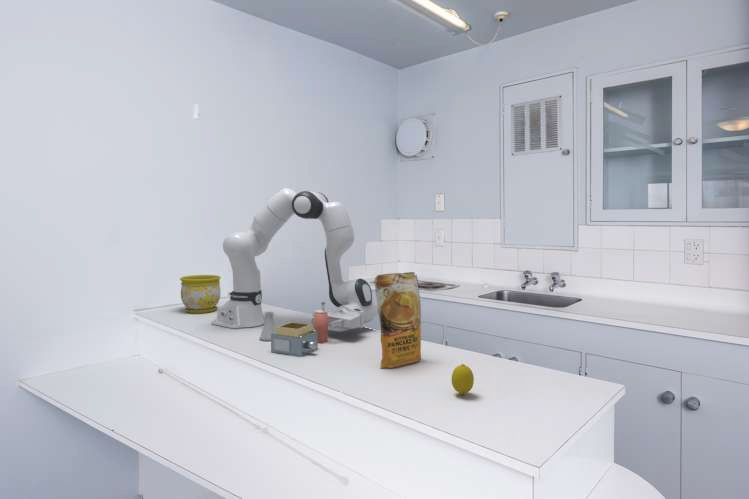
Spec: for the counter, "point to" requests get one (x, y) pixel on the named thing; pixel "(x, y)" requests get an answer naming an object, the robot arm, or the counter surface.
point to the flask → (268, 327)
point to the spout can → (321, 324)
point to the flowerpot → (200, 293)
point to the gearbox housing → (294, 339)
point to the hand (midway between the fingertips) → (321, 322)
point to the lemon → (462, 379)
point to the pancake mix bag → (399, 318)
